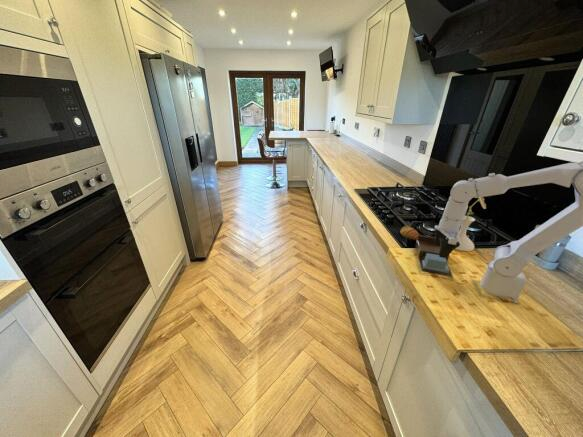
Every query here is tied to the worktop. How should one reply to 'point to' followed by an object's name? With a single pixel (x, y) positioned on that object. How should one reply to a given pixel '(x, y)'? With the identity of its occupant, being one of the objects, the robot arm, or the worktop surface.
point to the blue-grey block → (435, 263)
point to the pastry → (409, 233)
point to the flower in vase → (462, 238)
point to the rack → (428, 246)
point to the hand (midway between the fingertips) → (440, 251)
